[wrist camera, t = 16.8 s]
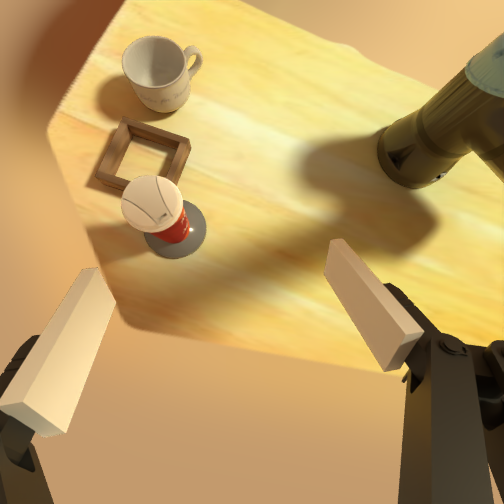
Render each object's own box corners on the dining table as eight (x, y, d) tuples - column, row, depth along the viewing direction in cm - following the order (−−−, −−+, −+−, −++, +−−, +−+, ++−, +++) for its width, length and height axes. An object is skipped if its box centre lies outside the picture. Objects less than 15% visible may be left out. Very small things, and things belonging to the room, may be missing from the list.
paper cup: (204, 232, 44) (193, 206, 30) (169, 258, 42) (140, 242, 29) (178, 200, 44) (156, 158, 30) (143, 224, 43) (103, 192, 29)
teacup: (146, 126, 47) (129, 93, 39) (132, 79, 48) (113, 37, 40) (214, 111, 49) (212, 76, 41) (199, 66, 50) (194, 24, 42)
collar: (129, 127, 46) (123, 116, 43) (191, 148, 47) (188, 138, 44) (103, 184, 44) (94, 176, 41) (168, 205, 44) (164, 199, 42)
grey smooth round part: (158, 192, 45) (157, 191, 44) (214, 211, 45) (214, 210, 45) (135, 247, 43) (134, 246, 42) (194, 266, 43) (194, 265, 43)
